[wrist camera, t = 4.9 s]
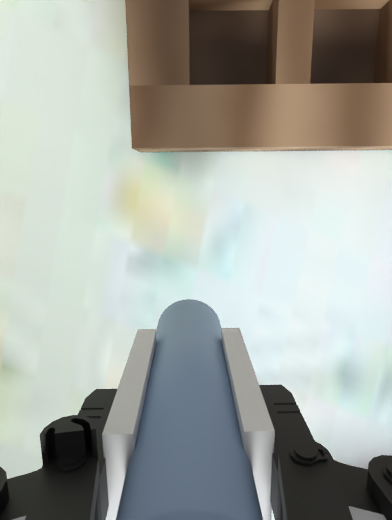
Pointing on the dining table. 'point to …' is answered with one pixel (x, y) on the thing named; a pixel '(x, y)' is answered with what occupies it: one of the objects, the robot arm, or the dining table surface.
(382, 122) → the hole block
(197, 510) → the peg
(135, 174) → the dining table surface
